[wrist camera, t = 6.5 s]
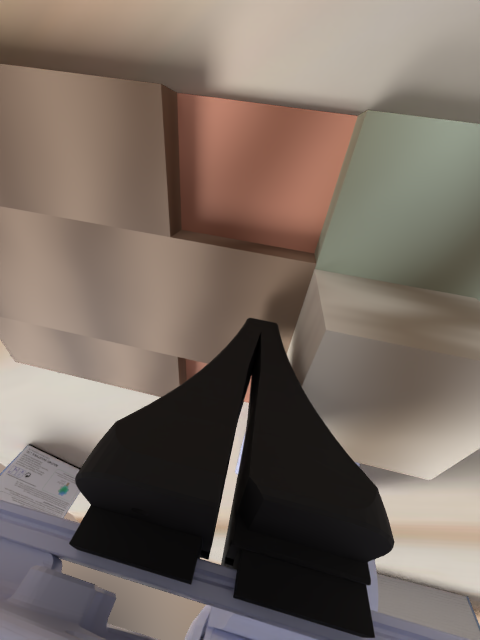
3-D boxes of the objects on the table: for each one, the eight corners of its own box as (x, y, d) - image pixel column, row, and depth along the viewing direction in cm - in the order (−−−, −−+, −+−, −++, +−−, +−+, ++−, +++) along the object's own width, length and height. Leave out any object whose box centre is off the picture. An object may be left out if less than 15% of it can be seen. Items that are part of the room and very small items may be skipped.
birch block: (475, 298, 9) (582, 381, 5) (394, 395, 12) (430, 480, 9) (314, 268, 9) (326, 330, 6) (281, 370, 13) (277, 443, 9)
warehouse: (466, 592, 35) (502, 684, 29) (422, 602, 43) (443, 675, 37) (268, 542, 39) (263, 612, 33) (262, 560, 48) (258, 619, 42)
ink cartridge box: (21, 451, 35) (-115, 599, 23) (27, 442, 32) (-125, 605, 20) (82, 480, 37) (-13, 625, 26) (92, 473, 35) (-10, 634, 23)
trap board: (665, 157, 7) (745, 157, 6) (392, 432, 16) (399, 455, 15) (-135, 54, 9) (-200, 38, 8) (33, 348, 19) (15, 361, 17)
